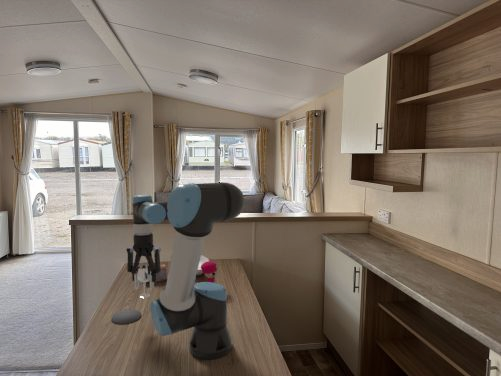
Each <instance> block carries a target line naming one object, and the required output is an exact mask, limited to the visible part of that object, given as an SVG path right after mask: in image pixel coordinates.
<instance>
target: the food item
mask: <svg viewBox="0 0 501 376" xmlns="http://www.w3.org/2000/svg"><path fill="white" fill-rule="evenodd" d="M154 265H155V262H154ZM160 268H161V271H160V272H158V273H156V281H155V282H154V284H155V283H157V282H163V281H166V280H167V279H168V267H167V265H166V264H160ZM147 283H149V284H150V280H149V281H148V282H146V283H145V284H147Z"/></svg>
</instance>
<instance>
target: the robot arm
mask: <svg viewBox="0 0 501 376" xmlns="http://www.w3.org/2000/svg"><path fill="white" fill-rule="evenodd" d="M167 199H168V200H167V201H155V202H153V196H152V195H149V194H137V195H136V194H135V195H134V196H133V197H132V203H131V204H132V226H133V227H132V229H133V231H132V232H133V238H132V239H133V246H130V247H127V248H126V253H127V267H126V269H127V273H131V274H132V275H131V279H132V282H134V285H133V286H134V290H135V291H137V290H138V289H140V282H139V281H138V280H137V270H138V267H139V265H140V261H141V258H142V257H144V258H145V259H146V260H147V264H148V266H149V268H150V271H151V274H150V275H149V276H150V282H149V291H151V292H152V291H153V290H154V289H155V283H156V282H155V281H156V273H158V272H160V271H161V268H160V265H161V256H160V254H161V247H156V246H154V234H153V229H154V227H153V225H157V224H160V223H162V222H169V223H170V225H171V226H172V229H173V230H174V231H175V237H174V242H173V248H172V253H171V259H170V265H169V268H168V272H167V279H166V285H165V287H164V288H162V289H161V291H160V293H159V298H158V299H154V300H152V301H151V302H150V306H149V307H150V308H149V309H150V315H151V319H152V323H153V326H154V329H155V331H156V333H157V334H158V335H160V336H162V337H165V336H170V335H171V336H172V335H174V334H177V333H179V332H182V331H186V330H188V329H191V328H193V329H192V333H191V336H190V340H189V344H188V347H189V352H190V354H191V355H193V357H195V358H198V359H203V360H214V359H215V360H216V359H219V358H222V357H224V356H226V355H227V354H228V353H230V351H231V349H232V338H231V334H230V331H229V329H228V327H227V323H228V322H227V315H228V314H227V307H228V306H227V304H228V303H227V301H228V296H227V295H228V294H227V290H226V288H225V286H223V285H222V284H219V283H217V282H214V283H212V282H207V281H202V282H196V277H197V275H196V274H197V270H198V265H199V261H200V257H201V255H202V252H203V247H204V243H205V238H207V237H208V236H210V235H211V233H212V231H213V227H214V224H216V223H222V222H228V221H231V220H233V219H236V218H237V217H238V216H240V215H241V213H242V212H243V209H244V208H245V202H246V201H245V196H244V194H243V191H242V190H241V189H240V188H239V187H238V186H236V185H235V184H233V183H229V182H209V183H194V182H190V183H187V184H179V185H177V186H176V187H174V188H173V189H172V191H171V192H170V193H169V196H168V198H167ZM134 252H135V257H134ZM152 252H153V253H154V258H153V254H152ZM154 263H155V265H154ZM154 282H155V283H154Z"/></svg>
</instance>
